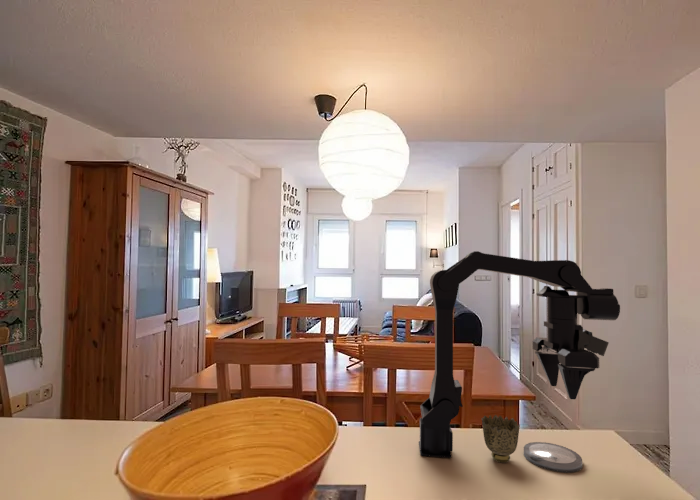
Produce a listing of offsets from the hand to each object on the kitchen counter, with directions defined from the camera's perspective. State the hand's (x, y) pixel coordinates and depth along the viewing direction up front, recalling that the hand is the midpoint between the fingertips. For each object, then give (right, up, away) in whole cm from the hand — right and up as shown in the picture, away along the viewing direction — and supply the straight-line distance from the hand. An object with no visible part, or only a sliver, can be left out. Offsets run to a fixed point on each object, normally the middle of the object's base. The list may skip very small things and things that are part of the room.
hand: (562, 392), depth 81 cm
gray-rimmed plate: (-3, -14, -1) cm, 14 cm away
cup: (-14, -14, -1) cm, 20 cm away
